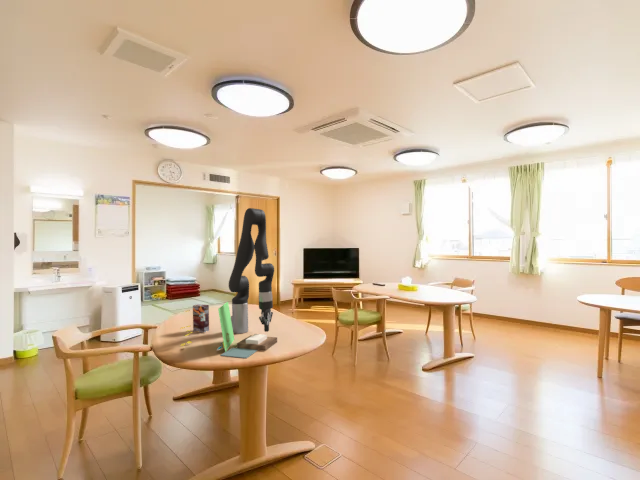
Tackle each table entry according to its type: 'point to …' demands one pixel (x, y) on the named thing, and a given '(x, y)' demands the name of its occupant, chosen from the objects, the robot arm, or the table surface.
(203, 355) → the table surface
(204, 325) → the supplement box
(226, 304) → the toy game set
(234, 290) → the robot arm
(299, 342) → the table surface
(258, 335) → the tile
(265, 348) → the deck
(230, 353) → the mat
